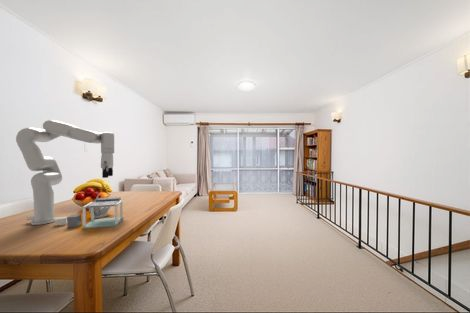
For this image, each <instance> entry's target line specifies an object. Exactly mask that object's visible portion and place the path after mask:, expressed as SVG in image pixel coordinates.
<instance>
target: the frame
mask: <svg viewBox="0 0 470 313" xmlns="http://www.w3.org/2000/svg"><path fill="white" fill-rule="evenodd" d="M123 202H124V201H123V199H122V200H120V201H119V202H118V203H117V204H115V206H114V217H103V218H94V208H91V212H90V221H89V222H87V209H88V208H87V206H89V205H90V204H92V203H94V201H91V202H88V203H87V204H85V205H83V206H82V208H81V209H82V227H81V230H84V229H85V230H86V229H97V228H98V229H99V228H109V227H118V225H119V224H120V223H121V222H122V220H123V219H124V206H123V204H124V203H123ZM118 206H119V207H120V208H119V207H118ZM86 208H87V209H86ZM118 208H119V210H120V215H118V214H119V213H118V212H119V210H118ZM119 216H120V217H119Z"/></svg>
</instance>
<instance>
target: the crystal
mask: <svg viewBox="0 0 470 313" xmlns="http://www.w3.org/2000/svg"><path fill="white" fill-rule="evenodd" d="M97 199H99V195H97V196H96V198H95V199H94V201H93V202H96V200H97ZM111 207H112V206H110V207H94V219H101V218H106V217H107V216H109V213H108V212H109V210H110V209H111ZM88 211H89V213H91V208H88Z"/></svg>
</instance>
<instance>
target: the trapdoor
mask: <svg viewBox="0 0 470 313" xmlns="http://www.w3.org/2000/svg"><path fill="white" fill-rule="evenodd" d="M120 200H121V197H120V196H119V197H117V196H115V197H100V198H99V199H97V200H96V202H94V201H93V202H94V203H92V204H90V205H89V206H87V209H89V208H94V207H101V208H104V207H110V206H111V207H115V204H117V203H118V202H119V201H120ZM111 207H110V208H111Z"/></svg>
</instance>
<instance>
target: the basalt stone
mask: <svg viewBox="0 0 470 313" xmlns="http://www.w3.org/2000/svg"><path fill="white" fill-rule="evenodd" d="M66 217H67V224H66V225H67V228H75V227H76V228H78V227H79V226H80V225H82V214H81V213H80V214H70V215H69V216H66Z"/></svg>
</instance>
